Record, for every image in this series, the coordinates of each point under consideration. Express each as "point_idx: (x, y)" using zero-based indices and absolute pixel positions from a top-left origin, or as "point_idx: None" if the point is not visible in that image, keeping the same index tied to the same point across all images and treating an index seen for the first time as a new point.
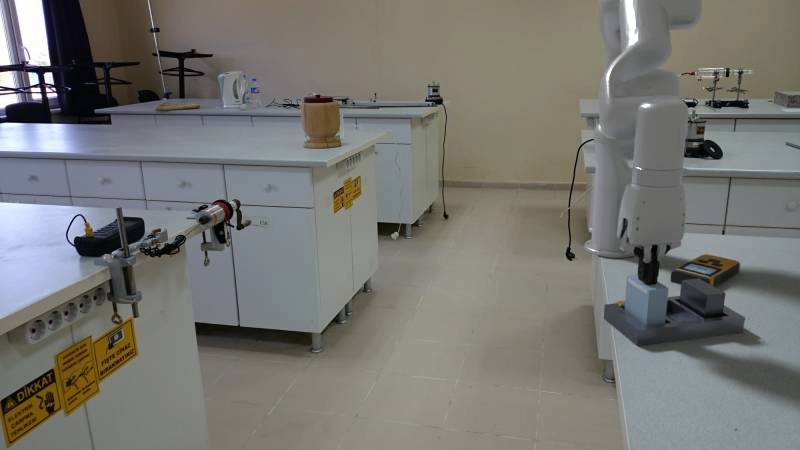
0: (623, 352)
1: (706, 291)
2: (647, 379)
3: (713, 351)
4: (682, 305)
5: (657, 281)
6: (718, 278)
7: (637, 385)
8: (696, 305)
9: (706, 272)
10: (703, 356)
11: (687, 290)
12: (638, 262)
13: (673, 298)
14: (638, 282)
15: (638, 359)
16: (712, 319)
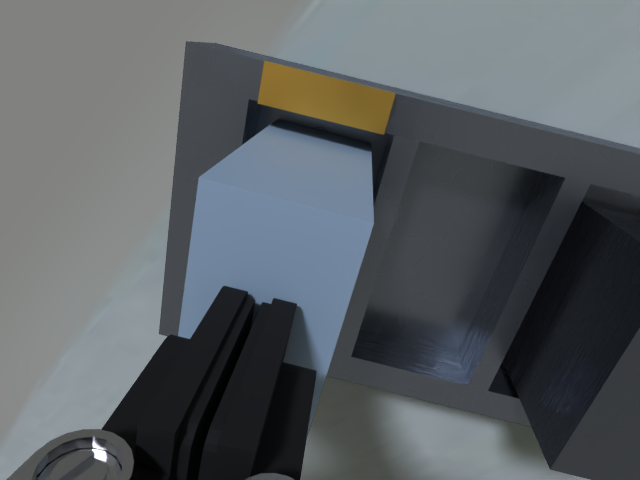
0: (115, 305)
1: (599, 444)
2: (92, 427)
3: (384, 426)
4: (547, 260)
5: (323, 375)
6: None
7: (51, 431)
8: (546, 347)
9: None
10: (329, 429)
11: (614, 305)
12: (107, 421)
13: (603, 172)
14: (183, 325)
15: (134, 354)
16: (508, 408)
